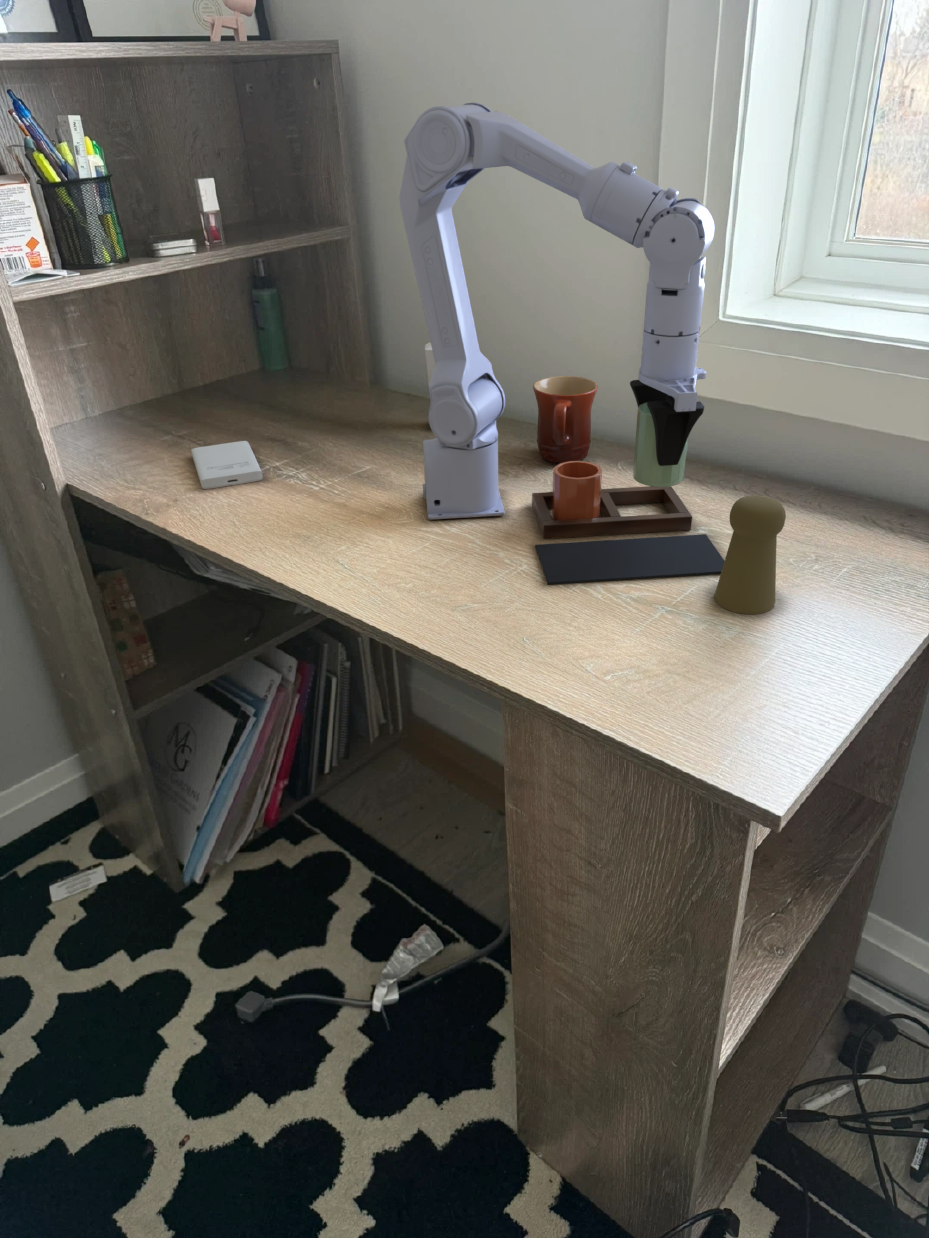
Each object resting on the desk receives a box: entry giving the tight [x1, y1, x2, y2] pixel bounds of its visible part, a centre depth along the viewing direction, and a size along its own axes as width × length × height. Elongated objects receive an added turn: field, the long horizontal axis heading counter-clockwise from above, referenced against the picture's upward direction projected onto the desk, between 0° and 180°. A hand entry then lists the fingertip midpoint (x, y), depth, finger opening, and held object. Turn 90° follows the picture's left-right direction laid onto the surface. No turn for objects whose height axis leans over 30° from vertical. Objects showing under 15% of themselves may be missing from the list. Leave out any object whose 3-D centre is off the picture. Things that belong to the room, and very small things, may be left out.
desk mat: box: [535, 533, 725, 586], centre depth 100 cm, size 20×9×1 cm, turn 94°
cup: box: [632, 402, 689, 487], centre depth 99 cm, size 6×6×8 cm
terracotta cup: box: [551, 460, 603, 521], centre depth 107 cm, size 6×6×6 cm
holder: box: [531, 485, 693, 540], centre depth 109 cm, size 18×9×2 cm, turn 94°
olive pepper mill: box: [713, 494, 787, 615], centre depth 89 cm, size 6×6×11 cm
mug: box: [532, 375, 599, 465], centre depth 123 cm, size 12×9×10 cm
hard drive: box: [190, 440, 264, 490], centre depth 126 cm, size 2×8×12 cm
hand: (660, 454), depth 100 cm, fingers closed on cup, 5 cm apart
